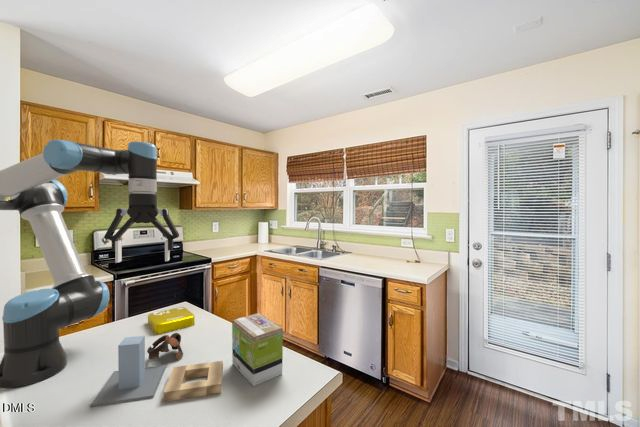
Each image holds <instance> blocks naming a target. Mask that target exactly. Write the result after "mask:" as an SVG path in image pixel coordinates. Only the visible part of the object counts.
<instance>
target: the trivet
mask: <svg viewBox="0 0 640 427" xmlns="http://www.w3.org/2000/svg"><path fill="white" fill-rule="evenodd" d="M166 368H167V364H161V365H154V366H153V365H152V366H145V377H144V379H143V381H142V383H141V385H140V387H133V388H126V389H119V370H115V371H113V372H112V374H111V375H110V376H109V378H108V379H107V381H106V382H105V384H104V385H103V387H102V388H101V390H100V391H99V392H98V393H97V395H96V397H94V399H93V400H92V402H91V403H90V406H89V407H90V408H92V407H100V406H106V405H115V404H119V403H126V402H127V403H128V402H132V401H133V402H134V401H140V400H146V399H153V398H154V397H155V394H156V391H157V390H158V389H159V388H158V387H159V385H160V382H161V380H162V377H163V375H164V373H165V370H166Z"/></svg>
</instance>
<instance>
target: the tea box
mask: <svg viewBox="0 0 640 427" xmlns="http://www.w3.org/2000/svg"><path fill="white" fill-rule="evenodd" d="M231 324H232V327H231V330H232V333H231V336H232V338H231V339H232V341H231V345H232V347H231V349H232V350H231V351H232V357H231V358H232V360H231V362H232V364H233V365H234V367H235V368H236V369H237V370H238V371H239V372H240V373H241V374H242V375H243V377H244V378H246V379H247V381H248V382H249V383H250V384H251V385H252V386H253V387H256V386H258V385H261V384H262V383H265V382H267V381H270V380H273V379H274V378H276V377H278V376H280V375H283V367H284V366H283V357H284V356H283V352H284V349H283V347H284V346H283V344H284V343H283V342H284V340H283V339H284V336H283V334H284V333H283V332H284V331H283V330H284V328H283V327H282V326H280V325H279V324H278V323H276V322H274V321H273V320H271V319H270V318H268V317H267V316H265V315H264V314H262V313H260V312H258V313H253V314H250V315H246V316H242V317H239V318H236V319H232V320H231Z"/></svg>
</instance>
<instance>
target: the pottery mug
mask: <svg viewBox="0 0 640 427" xmlns="http://www.w3.org/2000/svg"><path fill="white" fill-rule="evenodd" d="M181 342H182V335H181V334H180V333H179V332H174V333H173V334H171V335H169V334H164V335H162V336H161V337H159V338H158V339H156V340H155V341H154V342H153V343H152V346H149V347H148V348H147V351H146V353H148V359H150V360H153V359H160V357H159V356H160V353H168V352H170V351H171V350H174V351H175V350H176V351H177V350H178V351H177V353H176V354H175V357H176V360H177V361H180V360H181V359H182V358H183V356H184V353H183V350H182V348H181ZM169 345H170V346H171V350H170V349H169Z"/></svg>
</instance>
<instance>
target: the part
mask: <svg viewBox="0 0 640 427" xmlns="http://www.w3.org/2000/svg"><path fill="white" fill-rule="evenodd" d="M145 337H146V336H145V335H138V336H137V335H135V336H126V337H124V338H123V339H122V341H121V342H120V343H119V344H118V346H117V347H118V348H117V349H118V350H117V351H118V352H117V353H118V354H117V355H118V357H117V358H118V363H117V364H118V370H117V371H119V389H126V388H133V387H140V385H141V383H142V381H143V379H144V377H145V367H146V338H145Z"/></svg>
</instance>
